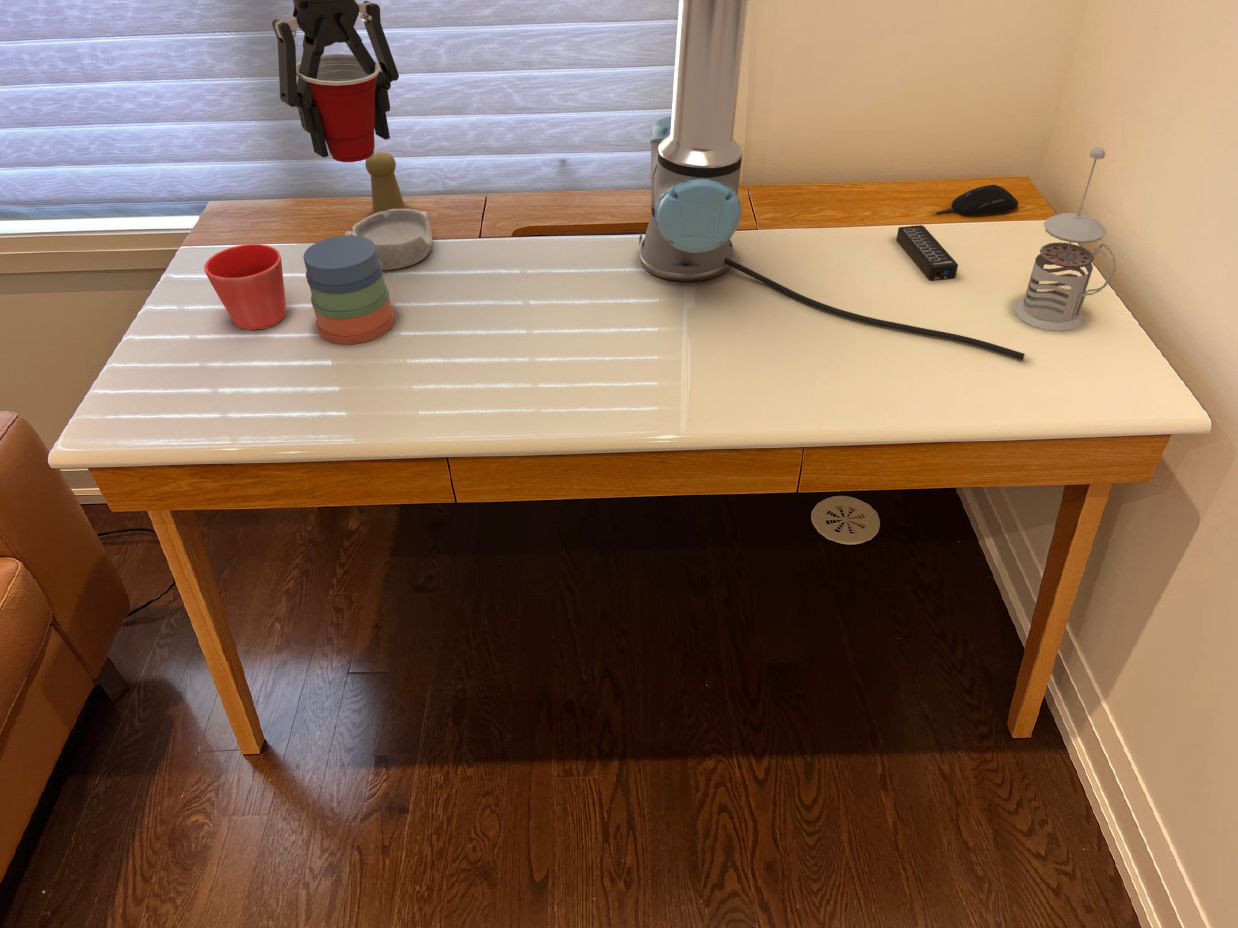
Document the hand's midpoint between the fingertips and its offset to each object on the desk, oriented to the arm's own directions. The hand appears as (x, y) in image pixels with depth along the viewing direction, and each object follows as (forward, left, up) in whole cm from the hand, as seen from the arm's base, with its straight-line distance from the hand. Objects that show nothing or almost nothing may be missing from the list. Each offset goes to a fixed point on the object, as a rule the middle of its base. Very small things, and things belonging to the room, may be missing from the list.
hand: (352, 145), depth 129 cm
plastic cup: (0, 0, -2) cm, 2 cm away
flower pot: (+12, +15, -26) cm, 32 cm away
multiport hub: (-47, -73, -26) cm, 90 cm away
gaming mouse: (-42, -95, -26) cm, 107 cm away
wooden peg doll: (+30, -18, -26) cm, 44 cm away
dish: (+16, -11, -26) cm, 32 cm away
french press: (-70, -72, -26) cm, 104 cm away
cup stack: (0, +5, -26) cm, 27 cm away
